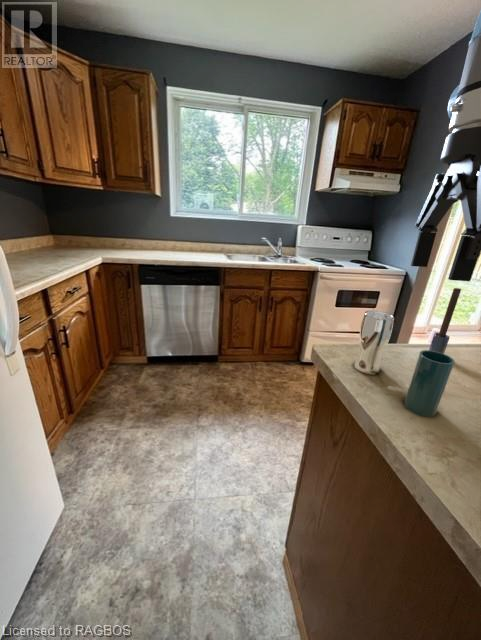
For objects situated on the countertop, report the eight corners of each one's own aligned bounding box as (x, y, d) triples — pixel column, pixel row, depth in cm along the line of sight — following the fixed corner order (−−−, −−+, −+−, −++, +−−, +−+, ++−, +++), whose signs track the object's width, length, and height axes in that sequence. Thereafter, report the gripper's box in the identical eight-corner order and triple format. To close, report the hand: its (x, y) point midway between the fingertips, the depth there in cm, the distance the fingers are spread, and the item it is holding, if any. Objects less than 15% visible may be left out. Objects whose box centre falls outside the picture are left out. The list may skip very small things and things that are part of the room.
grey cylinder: (438, 355, 81) (445, 333, 78) (444, 361, 77) (452, 338, 75) (425, 353, 81) (431, 332, 79) (430, 359, 78) (438, 337, 75)
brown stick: (437, 354, 80) (459, 288, 73) (440, 357, 78) (464, 289, 71) (429, 353, 80) (451, 287, 73) (433, 356, 78) (455, 289, 71)
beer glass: (355, 359, 76) (367, 308, 70) (383, 367, 72) (397, 314, 67) (349, 369, 70) (361, 315, 65) (378, 378, 67) (393, 322, 61)
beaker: (427, 401, 59) (444, 352, 55) (441, 418, 54) (461, 365, 50) (400, 397, 60) (415, 348, 56) (411, 414, 55) (428, 362, 50)
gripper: (414, 150, 53) (389, 261, 60) (514, 96, 29) (453, 286, 37) (456, 150, 52) (425, 263, 59) (594, 94, 28) (515, 291, 36)
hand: (436, 272), depth 48 cm, fingers open, 13 cm apart
